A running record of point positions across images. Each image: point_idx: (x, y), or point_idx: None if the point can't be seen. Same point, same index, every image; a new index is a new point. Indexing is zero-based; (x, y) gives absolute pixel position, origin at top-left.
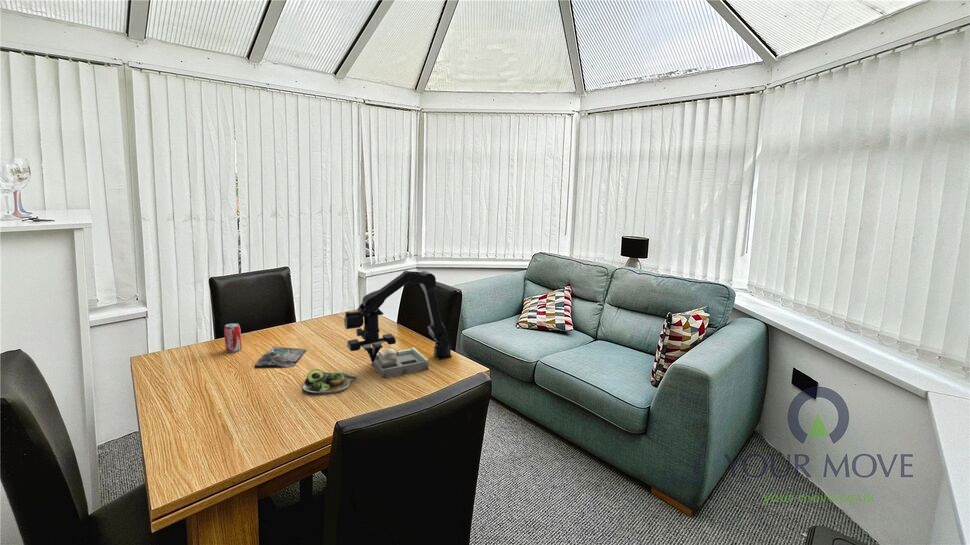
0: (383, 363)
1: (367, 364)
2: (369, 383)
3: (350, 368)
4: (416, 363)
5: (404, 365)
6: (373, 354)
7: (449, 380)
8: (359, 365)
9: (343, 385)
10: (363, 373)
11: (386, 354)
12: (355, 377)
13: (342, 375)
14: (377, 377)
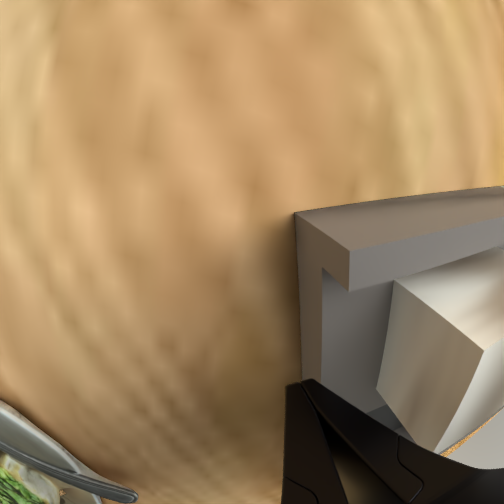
0: (384, 390)
1: (233, 223)
2: (208, 498)
3: (30, 288)
4: (488, 419)
5: (442, 451)
6: (347, 490)
7: (470, 436)
8: (124, 227)
9: (73, 496)
10: (171, 418)
11: (460, 435)
12: (124, 500)
13: (31, 466)
14: (267, 464)
